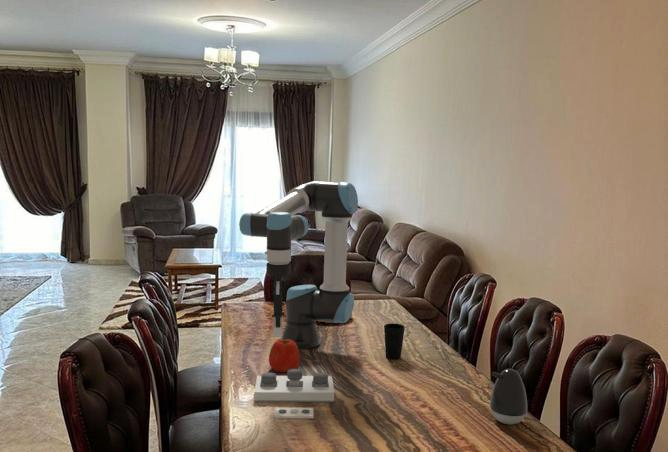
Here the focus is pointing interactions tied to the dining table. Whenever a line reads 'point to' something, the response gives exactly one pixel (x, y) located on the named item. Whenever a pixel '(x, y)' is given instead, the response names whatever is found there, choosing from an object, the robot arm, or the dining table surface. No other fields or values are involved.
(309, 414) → the pattern card
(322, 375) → the button
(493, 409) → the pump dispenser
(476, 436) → the dining table surface
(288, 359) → the apple
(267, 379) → the button
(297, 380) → the button
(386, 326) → the cup
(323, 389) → the board
